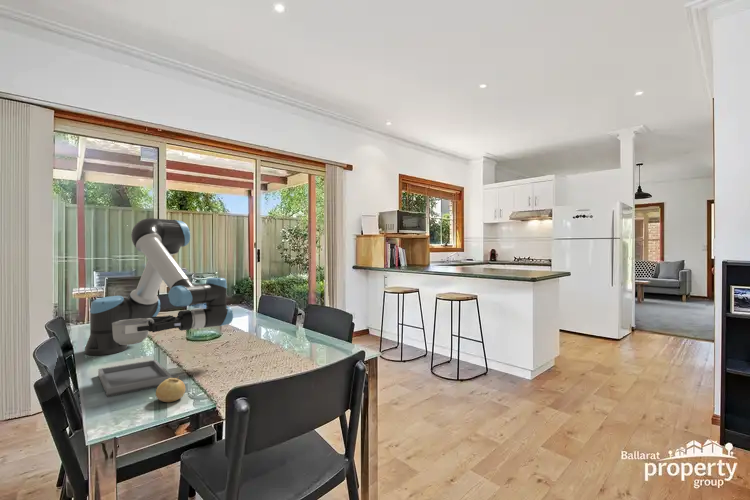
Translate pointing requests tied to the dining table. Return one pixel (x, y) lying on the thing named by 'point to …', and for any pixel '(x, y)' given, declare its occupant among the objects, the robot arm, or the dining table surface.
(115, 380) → the tray
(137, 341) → the teacup
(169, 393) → the onion
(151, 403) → the dining table surface
